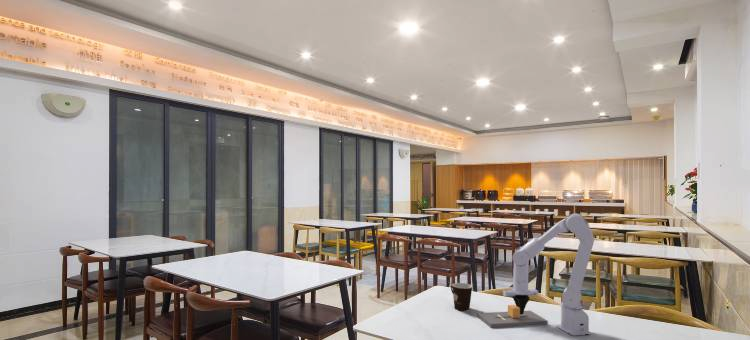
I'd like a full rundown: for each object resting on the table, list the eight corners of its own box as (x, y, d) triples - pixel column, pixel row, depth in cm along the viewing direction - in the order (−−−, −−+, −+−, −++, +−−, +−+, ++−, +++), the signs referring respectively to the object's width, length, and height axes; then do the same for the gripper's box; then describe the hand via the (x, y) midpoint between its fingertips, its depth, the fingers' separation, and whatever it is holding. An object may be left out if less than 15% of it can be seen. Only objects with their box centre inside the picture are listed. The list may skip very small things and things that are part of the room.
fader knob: (519, 317, 155) (519, 308, 155) (512, 317, 154) (513, 308, 155) (514, 314, 159) (514, 304, 159) (507, 314, 158) (507, 305, 159)
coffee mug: (474, 312, 166) (474, 288, 166) (453, 311, 166) (454, 288, 166) (468, 303, 177) (468, 281, 178) (449, 302, 178) (449, 281, 178)
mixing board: (547, 324, 153) (547, 320, 153) (491, 327, 148) (491, 323, 149) (530, 314, 165) (530, 310, 165) (477, 316, 160) (477, 312, 160)
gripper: (531, 276, 163) (531, 309, 163) (499, 277, 160) (499, 310, 160) (541, 281, 156) (541, 315, 156) (508, 282, 153) (507, 317, 153)
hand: (520, 313), depth 157 cm, fingers closed
